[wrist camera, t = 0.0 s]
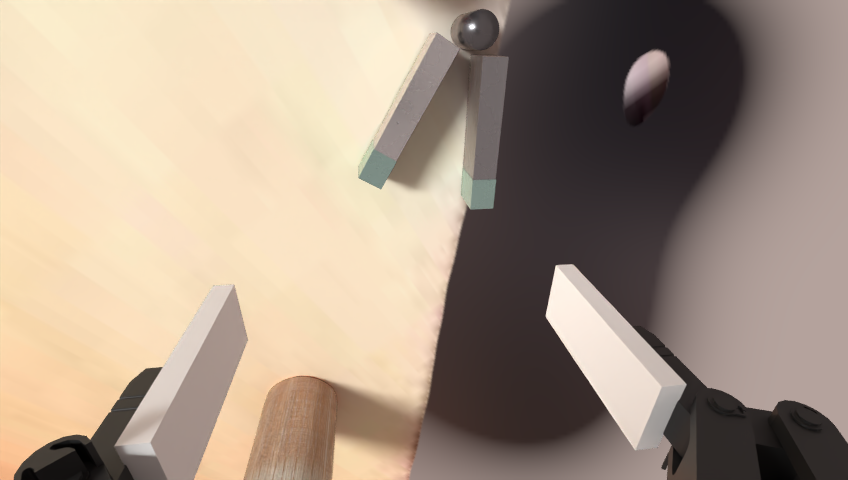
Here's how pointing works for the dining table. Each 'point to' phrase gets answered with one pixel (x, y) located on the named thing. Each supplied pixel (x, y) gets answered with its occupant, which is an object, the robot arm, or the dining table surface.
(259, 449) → the planter
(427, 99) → the tong arm
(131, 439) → the robot arm
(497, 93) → the base
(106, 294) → the dining table surface
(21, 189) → the dining table surface
